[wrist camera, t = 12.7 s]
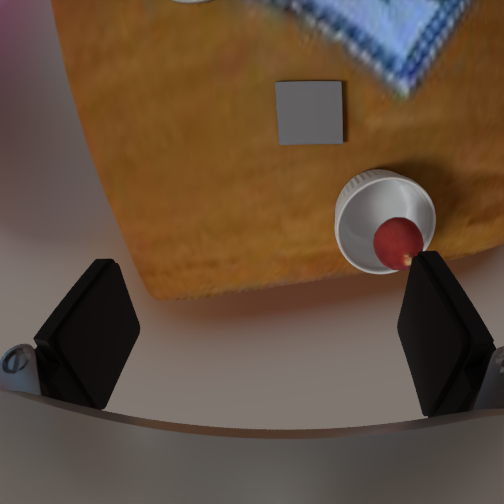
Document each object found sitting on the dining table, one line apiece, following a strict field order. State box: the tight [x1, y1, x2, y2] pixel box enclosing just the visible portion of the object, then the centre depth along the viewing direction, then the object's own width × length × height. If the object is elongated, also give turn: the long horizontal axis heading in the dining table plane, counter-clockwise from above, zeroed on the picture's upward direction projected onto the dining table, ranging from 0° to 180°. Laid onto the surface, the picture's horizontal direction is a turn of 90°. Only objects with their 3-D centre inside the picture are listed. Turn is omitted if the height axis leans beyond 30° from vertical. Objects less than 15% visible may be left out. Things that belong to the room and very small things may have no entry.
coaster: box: [275, 81, 343, 145], centre depth 37 cm, size 8×8×1 cm
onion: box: [373, 217, 424, 271], centre depth 33 cm, size 6×6×8 cm
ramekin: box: [335, 169, 436, 274], centre depth 40 cm, size 13×13×7 cm
